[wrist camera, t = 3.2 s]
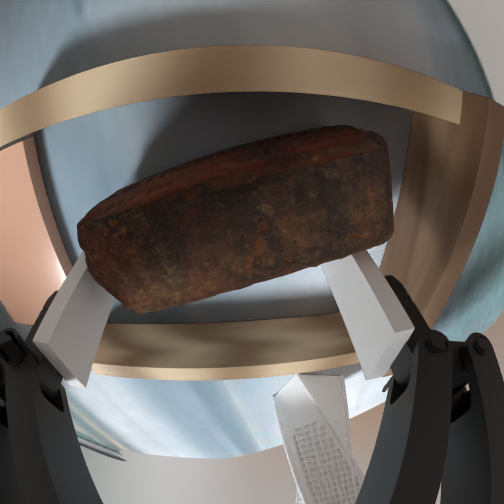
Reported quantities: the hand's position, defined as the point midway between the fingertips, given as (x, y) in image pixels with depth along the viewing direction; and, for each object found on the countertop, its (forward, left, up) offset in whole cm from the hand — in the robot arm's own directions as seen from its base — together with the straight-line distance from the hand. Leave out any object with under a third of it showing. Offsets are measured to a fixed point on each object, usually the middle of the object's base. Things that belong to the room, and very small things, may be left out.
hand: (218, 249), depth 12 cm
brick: (-1, 0, -2) cm, 2 cm away
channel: (0, 0, -1) cm, 1 cm away
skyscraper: (+7, -18, -2) cm, 19 cm away
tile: (-14, 0, -1) cm, 14 cm away
